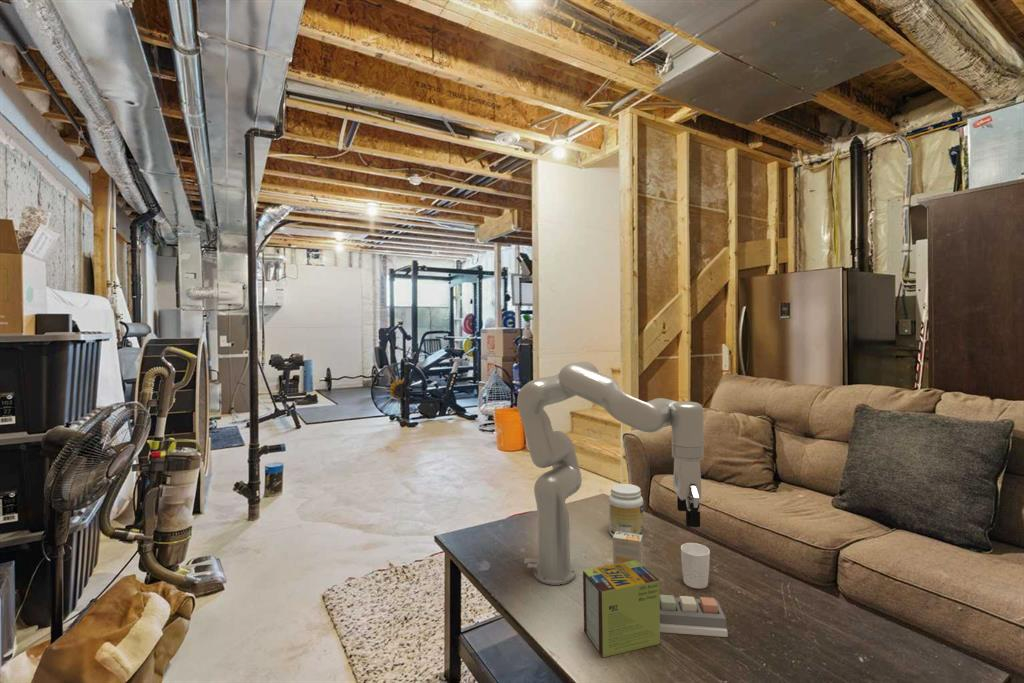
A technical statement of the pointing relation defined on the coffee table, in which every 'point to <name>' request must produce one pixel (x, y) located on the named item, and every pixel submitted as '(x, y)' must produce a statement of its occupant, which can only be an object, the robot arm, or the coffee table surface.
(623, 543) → the supplement box
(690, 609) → the key
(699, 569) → the white cup
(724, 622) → the keypad
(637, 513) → the supplement tub
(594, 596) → the protein box
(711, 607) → the key
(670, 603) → the key
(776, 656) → the coffee table surface
